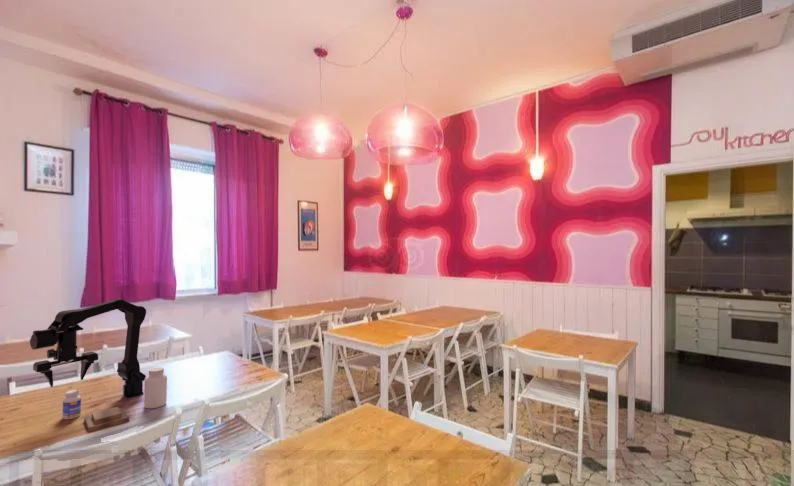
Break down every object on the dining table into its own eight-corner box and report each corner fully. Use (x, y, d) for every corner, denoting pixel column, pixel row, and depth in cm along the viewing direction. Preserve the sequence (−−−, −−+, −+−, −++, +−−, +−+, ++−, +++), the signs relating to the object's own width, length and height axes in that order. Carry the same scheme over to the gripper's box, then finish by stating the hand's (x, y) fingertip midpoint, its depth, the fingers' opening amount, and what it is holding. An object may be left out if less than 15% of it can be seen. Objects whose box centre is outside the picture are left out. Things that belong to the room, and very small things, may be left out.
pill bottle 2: (170, 403, 163) (171, 367, 163) (151, 410, 155) (152, 373, 155) (158, 400, 166) (159, 365, 166) (139, 407, 159) (140, 370, 159)
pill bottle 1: (70, 420, 146) (70, 394, 146) (58, 419, 147) (59, 393, 147) (84, 414, 151) (84, 389, 152) (73, 413, 153) (73, 388, 153)
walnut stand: (122, 411, 154) (122, 403, 154) (129, 421, 146) (129, 413, 146) (84, 420, 146) (84, 412, 146) (88, 431, 137) (88, 423, 137)
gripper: (88, 335, 162) (88, 372, 162) (28, 345, 147) (28, 386, 147) (98, 339, 156) (98, 377, 156) (37, 350, 141) (37, 392, 141)
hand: (67, 383), depth 150 cm, fingers open, 9 cm apart
